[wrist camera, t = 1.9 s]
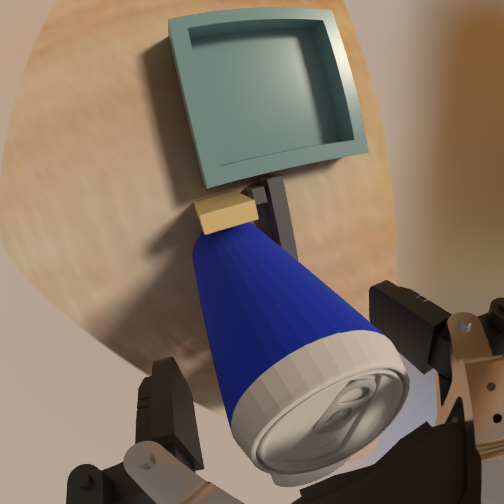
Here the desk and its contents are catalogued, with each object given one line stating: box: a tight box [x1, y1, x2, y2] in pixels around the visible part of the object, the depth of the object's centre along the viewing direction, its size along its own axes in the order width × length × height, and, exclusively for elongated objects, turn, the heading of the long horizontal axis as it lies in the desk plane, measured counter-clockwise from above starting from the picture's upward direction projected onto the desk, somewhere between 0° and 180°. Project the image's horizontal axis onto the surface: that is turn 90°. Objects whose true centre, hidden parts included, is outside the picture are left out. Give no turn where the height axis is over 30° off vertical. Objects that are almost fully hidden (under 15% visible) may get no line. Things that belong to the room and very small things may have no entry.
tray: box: [168, 7, 369, 188], centre depth 16 cm, size 11×11×3 cm
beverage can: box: [193, 222, 409, 475], centre depth 13 cm, size 5×5×15 cm
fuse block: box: [194, 175, 298, 261], centre depth 19 cm, size 17×6×5 cm, turn 13°
